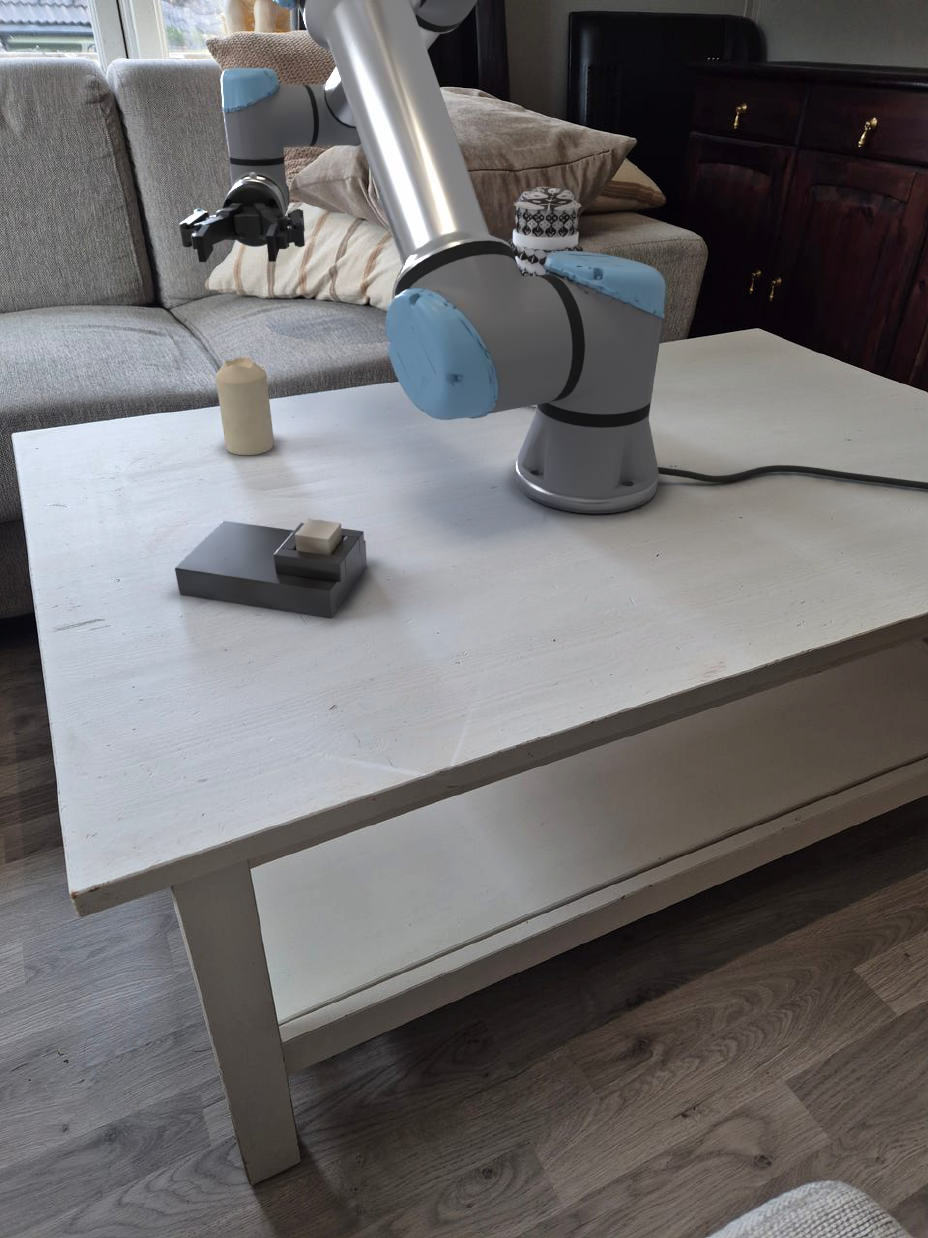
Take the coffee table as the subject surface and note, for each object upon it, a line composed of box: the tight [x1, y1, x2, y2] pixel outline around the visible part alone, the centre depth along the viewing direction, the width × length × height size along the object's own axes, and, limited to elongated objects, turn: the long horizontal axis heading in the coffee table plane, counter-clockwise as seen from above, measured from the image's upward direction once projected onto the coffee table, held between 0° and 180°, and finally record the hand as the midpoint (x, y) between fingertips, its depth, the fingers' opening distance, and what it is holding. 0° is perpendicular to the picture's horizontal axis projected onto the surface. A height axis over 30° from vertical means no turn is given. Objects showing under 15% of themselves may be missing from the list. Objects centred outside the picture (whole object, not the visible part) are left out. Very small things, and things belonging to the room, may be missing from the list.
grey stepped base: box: [174, 520, 368, 619], centre depth 78 cm, size 14×9×4 cm, turn 76°
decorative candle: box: [507, 186, 584, 408], centre depth 112 cm, size 9×9×25 cm
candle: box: [215, 357, 275, 456], centre depth 100 cm, size 6×6×10 cm
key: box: [295, 518, 342, 556], centre depth 75 cm, size 3×3×2 cm
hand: (235, 248), depth 99 cm, fingers open, 7 cm apart
